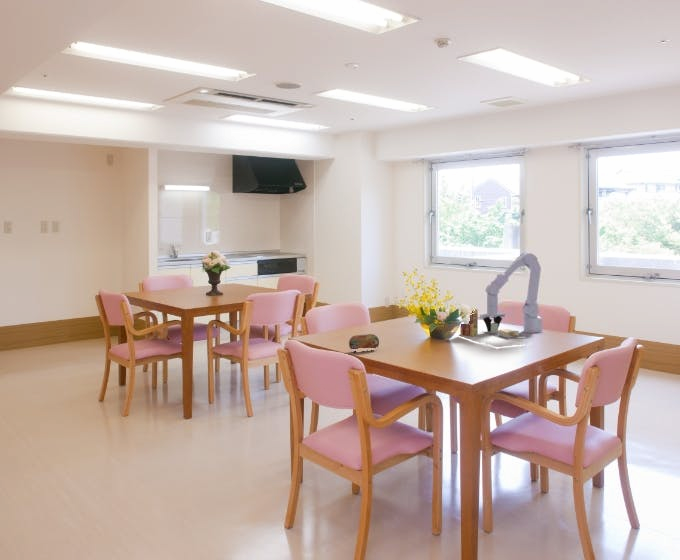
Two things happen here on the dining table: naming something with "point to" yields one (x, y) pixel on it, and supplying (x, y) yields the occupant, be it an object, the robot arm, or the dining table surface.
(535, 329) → the robot arm
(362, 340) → the tin
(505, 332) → the cream base block
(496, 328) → the sage block
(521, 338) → the slate mat
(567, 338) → the dining table surface
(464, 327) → the candy box
